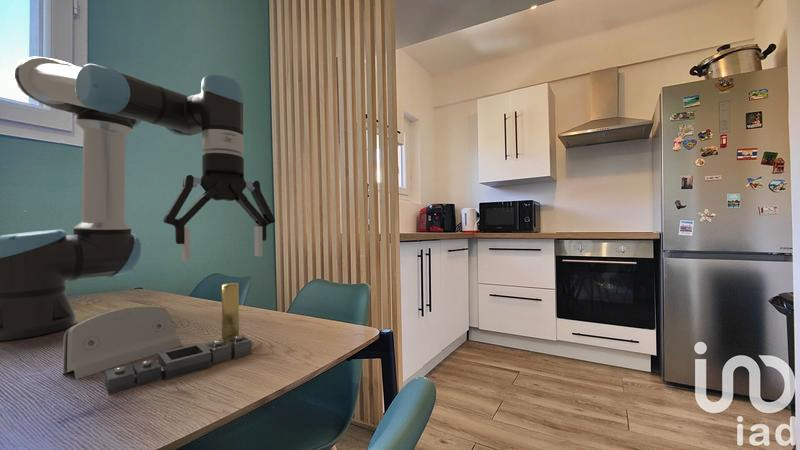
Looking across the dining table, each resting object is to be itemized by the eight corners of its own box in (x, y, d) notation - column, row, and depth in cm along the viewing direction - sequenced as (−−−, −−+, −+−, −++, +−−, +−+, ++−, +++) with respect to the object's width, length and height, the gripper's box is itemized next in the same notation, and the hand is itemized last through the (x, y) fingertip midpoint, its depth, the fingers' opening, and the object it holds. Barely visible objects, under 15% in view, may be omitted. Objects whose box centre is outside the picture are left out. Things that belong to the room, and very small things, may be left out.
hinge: (74, 379, 52) (64, 317, 54) (62, 384, 54) (53, 324, 56) (183, 345, 67) (173, 297, 69) (170, 349, 69) (161, 303, 71)
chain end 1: (104, 381, 52) (104, 364, 52) (200, 357, 61) (200, 342, 61) (108, 396, 47) (108, 378, 47) (211, 367, 56) (211, 352, 56)
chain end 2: (158, 367, 56) (157, 349, 56) (240, 346, 66) (240, 330, 66) (166, 380, 52) (166, 359, 52) (253, 355, 62) (253, 338, 62)
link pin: (219, 341, 69) (219, 284, 69) (235, 337, 71) (235, 282, 71) (224, 345, 67) (224, 286, 67) (241, 341, 69) (240, 284, 69)
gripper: (150, 141, 56) (152, 265, 56) (289, 160, 74) (290, 255, 74) (144, 149, 62) (145, 262, 62) (275, 165, 79) (276, 253, 79)
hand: (224, 258), depth 68 cm, fingers open, 13 cm apart
